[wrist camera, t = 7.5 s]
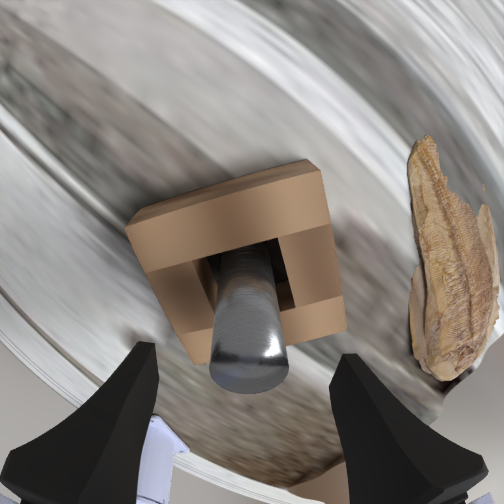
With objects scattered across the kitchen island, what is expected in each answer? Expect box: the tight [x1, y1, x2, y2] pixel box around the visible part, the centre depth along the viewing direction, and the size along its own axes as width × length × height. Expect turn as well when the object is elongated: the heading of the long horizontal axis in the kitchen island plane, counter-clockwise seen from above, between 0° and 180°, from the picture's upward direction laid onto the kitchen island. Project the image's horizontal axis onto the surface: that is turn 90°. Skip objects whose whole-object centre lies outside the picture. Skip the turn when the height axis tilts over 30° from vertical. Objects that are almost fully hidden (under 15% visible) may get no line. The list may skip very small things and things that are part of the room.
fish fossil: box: [407, 135, 500, 381], centre depth 21 cm, size 26×10×1 cm, turn 31°
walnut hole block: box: [124, 159, 347, 365], centre depth 18 cm, size 10×10×3 cm
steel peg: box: [209, 242, 289, 394], centre depth 15 cm, size 3×3×9 cm
